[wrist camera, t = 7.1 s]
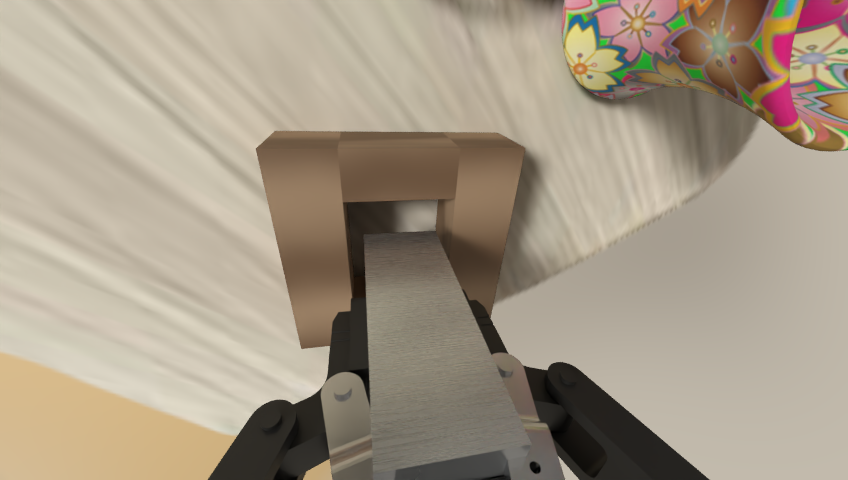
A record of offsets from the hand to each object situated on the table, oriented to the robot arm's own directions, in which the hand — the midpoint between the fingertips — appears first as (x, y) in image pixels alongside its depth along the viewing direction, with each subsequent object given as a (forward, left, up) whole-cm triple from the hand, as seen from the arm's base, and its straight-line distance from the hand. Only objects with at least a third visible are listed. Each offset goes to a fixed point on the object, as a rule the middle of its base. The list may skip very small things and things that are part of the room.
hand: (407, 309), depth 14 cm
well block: (0, 0, -7) cm, 7 cm away
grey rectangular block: (+1, 0, -3) cm, 3 cm away
